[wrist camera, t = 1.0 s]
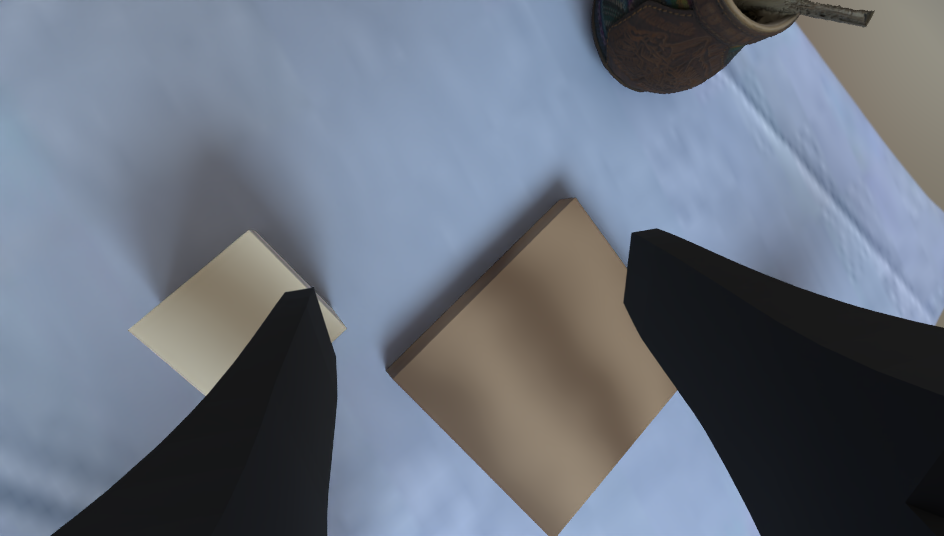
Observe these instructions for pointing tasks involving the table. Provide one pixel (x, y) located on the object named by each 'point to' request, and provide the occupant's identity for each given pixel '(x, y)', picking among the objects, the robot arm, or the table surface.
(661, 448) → the table surface
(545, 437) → the light brown wooden block
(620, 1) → the mate gourd
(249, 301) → the maple cube
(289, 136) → the table surface
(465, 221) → the table surface
